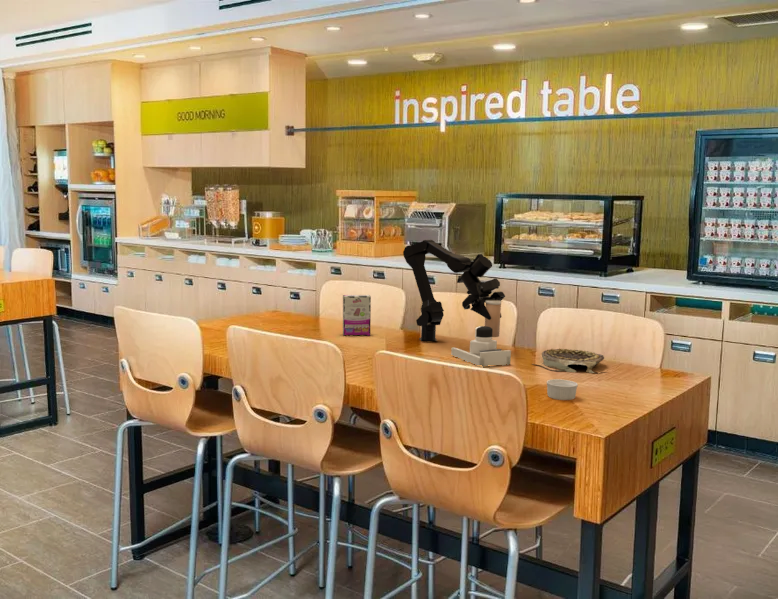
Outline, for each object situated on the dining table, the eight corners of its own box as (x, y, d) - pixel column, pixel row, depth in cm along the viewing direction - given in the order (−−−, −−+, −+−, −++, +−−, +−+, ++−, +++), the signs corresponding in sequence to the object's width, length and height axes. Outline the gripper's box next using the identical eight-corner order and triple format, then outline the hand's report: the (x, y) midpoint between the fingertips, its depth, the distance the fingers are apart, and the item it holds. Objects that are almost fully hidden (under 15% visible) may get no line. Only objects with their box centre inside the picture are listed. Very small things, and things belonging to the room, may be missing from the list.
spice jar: (482, 334, 292) (484, 299, 290) (498, 334, 292) (499, 299, 290) (485, 337, 286) (486, 301, 284) (500, 337, 286) (502, 302, 284)
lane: (451, 355, 284) (451, 342, 284) (479, 353, 289) (480, 340, 289) (480, 367, 266) (481, 352, 266) (510, 364, 271) (510, 350, 271)
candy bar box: (368, 333, 325) (369, 294, 323) (370, 336, 320) (371, 296, 318) (341, 334, 324) (342, 294, 321) (343, 336, 319) (343, 296, 317)
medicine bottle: (496, 360, 277) (497, 326, 276) (487, 363, 271) (488, 329, 270) (478, 357, 281) (479, 324, 280) (468, 360, 275) (470, 327, 274)
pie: (517, 360, 282) (518, 346, 281) (582, 357, 292) (583, 343, 291) (561, 377, 256) (562, 362, 255) (631, 373, 266) (632, 359, 265)
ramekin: (572, 393, 234) (573, 379, 233) (580, 401, 225) (581, 386, 224) (542, 393, 234) (543, 378, 233) (549, 400, 225) (550, 386, 224)
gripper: (469, 272, 282) (491, 307, 276) (502, 270, 295) (524, 303, 288) (452, 291, 289) (473, 325, 282) (485, 288, 302) (506, 321, 295)
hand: (495, 318), depth 287 cm, fingers closed on spice jar, 5 cm apart
